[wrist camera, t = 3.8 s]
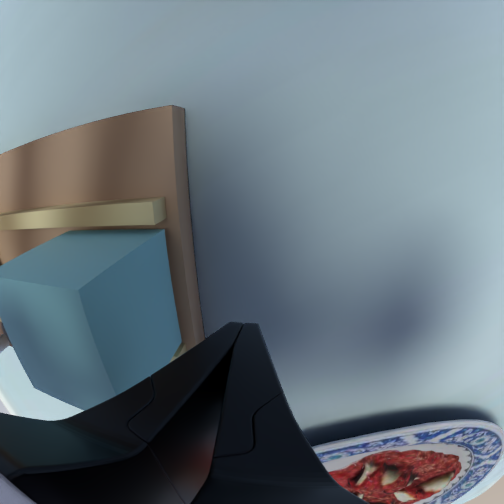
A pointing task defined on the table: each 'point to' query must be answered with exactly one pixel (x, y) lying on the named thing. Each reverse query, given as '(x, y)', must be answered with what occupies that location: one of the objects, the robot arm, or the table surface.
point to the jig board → (107, 194)
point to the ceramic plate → (415, 461)
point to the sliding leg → (91, 312)
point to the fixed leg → (3, 342)
